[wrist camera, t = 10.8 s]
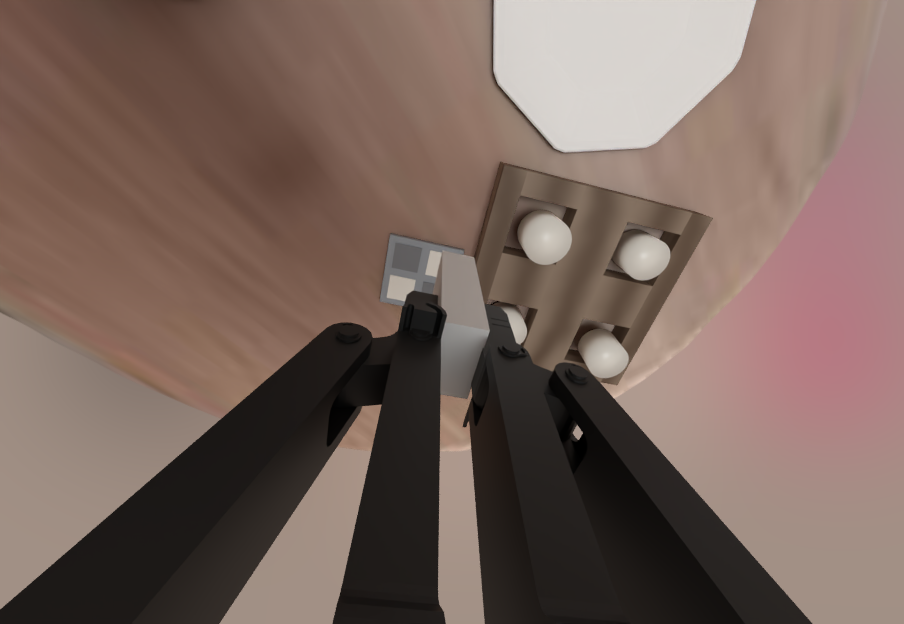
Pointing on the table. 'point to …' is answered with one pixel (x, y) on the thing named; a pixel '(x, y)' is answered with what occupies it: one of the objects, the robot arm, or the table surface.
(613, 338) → the button
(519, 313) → the button
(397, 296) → the card
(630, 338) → the board
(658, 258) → the button
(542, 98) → the plate
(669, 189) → the table surface
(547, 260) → the button
